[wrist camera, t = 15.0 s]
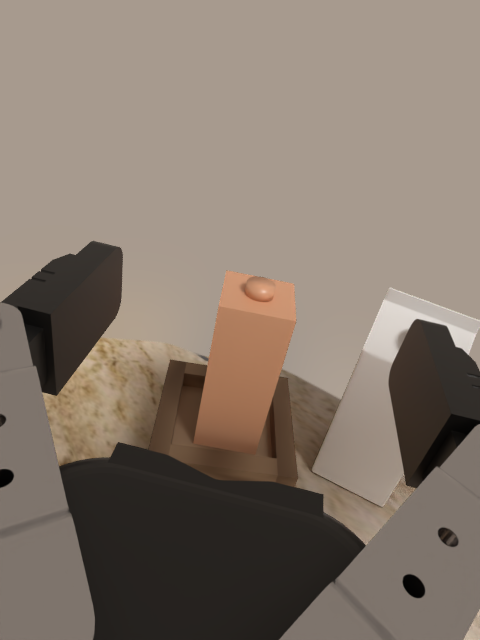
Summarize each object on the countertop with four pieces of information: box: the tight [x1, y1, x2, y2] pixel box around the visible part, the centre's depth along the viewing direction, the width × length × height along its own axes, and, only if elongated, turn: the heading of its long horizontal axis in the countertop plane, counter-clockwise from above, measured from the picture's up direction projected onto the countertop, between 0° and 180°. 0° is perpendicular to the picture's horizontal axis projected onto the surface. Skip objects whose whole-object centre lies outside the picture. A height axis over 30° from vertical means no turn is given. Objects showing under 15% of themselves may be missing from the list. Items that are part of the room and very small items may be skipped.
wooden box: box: [149, 360, 298, 487], centre depth 39 cm, size 11×11×8 cm
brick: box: [193, 271, 296, 455], centre depth 33 cm, size 5×5×14 cm
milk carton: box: [312, 288, 480, 507], centre depth 39 cm, size 7×7×19 cm
